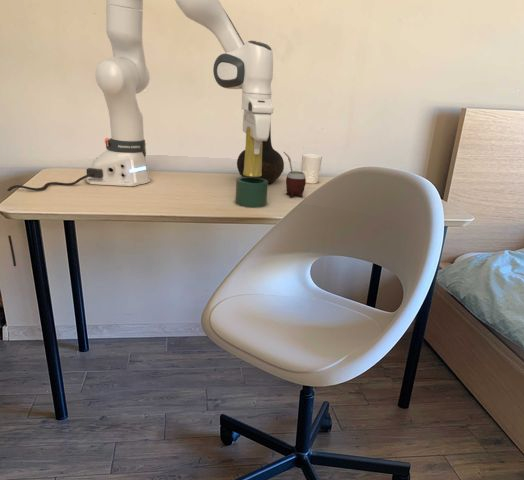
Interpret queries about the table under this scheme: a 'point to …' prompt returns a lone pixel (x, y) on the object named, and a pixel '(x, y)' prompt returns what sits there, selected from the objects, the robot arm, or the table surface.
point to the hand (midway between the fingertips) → (253, 152)
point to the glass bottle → (266, 161)
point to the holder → (251, 191)
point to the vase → (252, 158)
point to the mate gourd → (295, 182)
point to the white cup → (311, 167)
